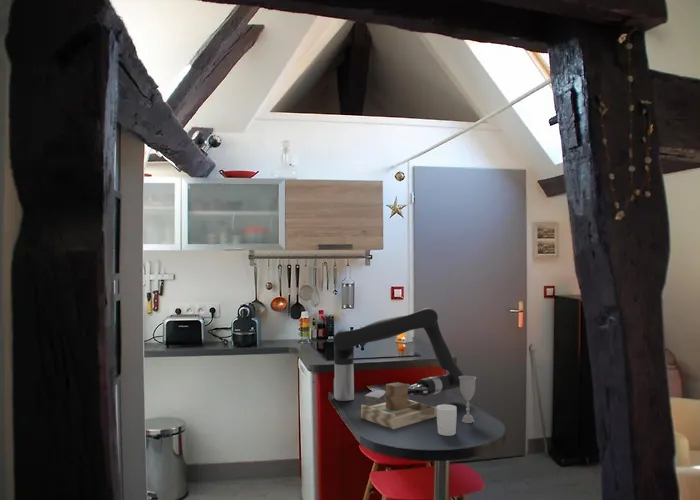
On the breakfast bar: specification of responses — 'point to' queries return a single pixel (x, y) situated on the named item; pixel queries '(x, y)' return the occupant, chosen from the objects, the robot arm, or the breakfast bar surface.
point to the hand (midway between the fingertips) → (402, 392)
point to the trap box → (398, 414)
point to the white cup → (446, 419)
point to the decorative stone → (375, 397)
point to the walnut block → (396, 396)
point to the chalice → (467, 394)
